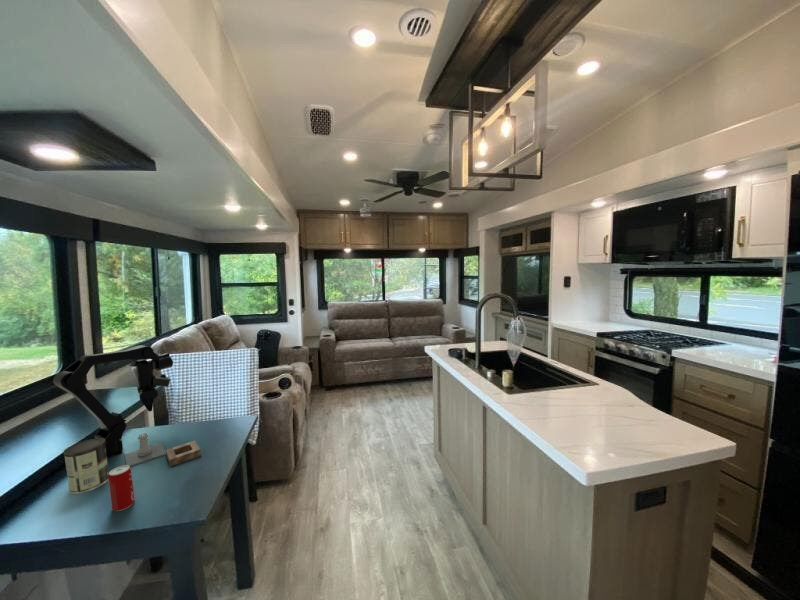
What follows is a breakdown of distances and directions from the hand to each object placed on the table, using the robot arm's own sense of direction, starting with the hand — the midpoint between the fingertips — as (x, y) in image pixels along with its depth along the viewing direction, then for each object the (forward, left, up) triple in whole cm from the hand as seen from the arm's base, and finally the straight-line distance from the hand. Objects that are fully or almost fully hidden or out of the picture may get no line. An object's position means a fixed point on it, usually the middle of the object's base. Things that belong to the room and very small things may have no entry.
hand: (149, 408), depth 145 cm
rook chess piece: (-4, -18, -13) cm, 22 cm away
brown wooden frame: (+7, -30, -13) cm, 33 cm away
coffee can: (-20, -27, -13) cm, 36 cm away
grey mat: (-4, -18, -13) cm, 22 cm away
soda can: (-12, -50, -13) cm, 53 cm away
